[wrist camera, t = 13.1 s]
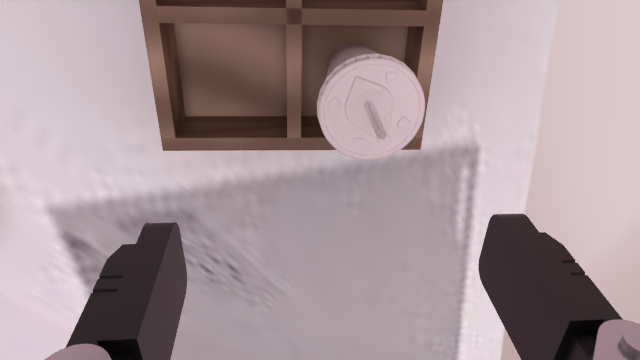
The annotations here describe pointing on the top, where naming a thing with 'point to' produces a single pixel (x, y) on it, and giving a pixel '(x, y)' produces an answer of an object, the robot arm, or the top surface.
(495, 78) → the top surface
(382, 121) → the smoothie
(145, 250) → the robot arm
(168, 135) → the bottle crate
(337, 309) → the top surface
